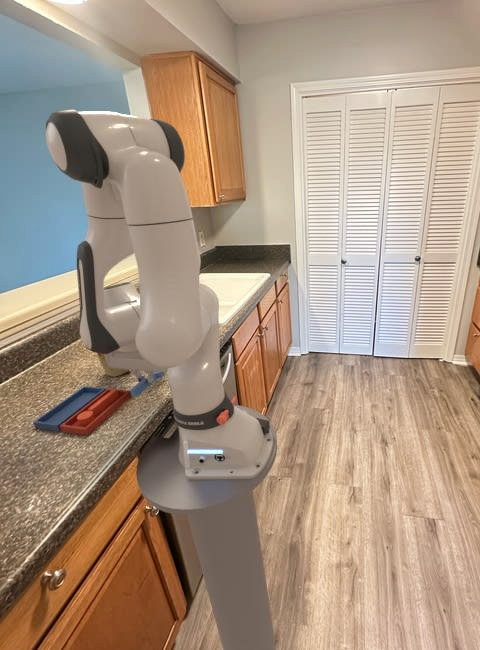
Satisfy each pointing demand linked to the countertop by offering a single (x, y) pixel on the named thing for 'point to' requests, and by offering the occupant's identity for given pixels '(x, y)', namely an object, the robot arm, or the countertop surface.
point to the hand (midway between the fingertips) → (145, 381)
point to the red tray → (76, 428)
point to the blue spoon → (145, 384)
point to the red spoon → (97, 408)
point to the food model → (108, 369)
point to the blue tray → (67, 408)
